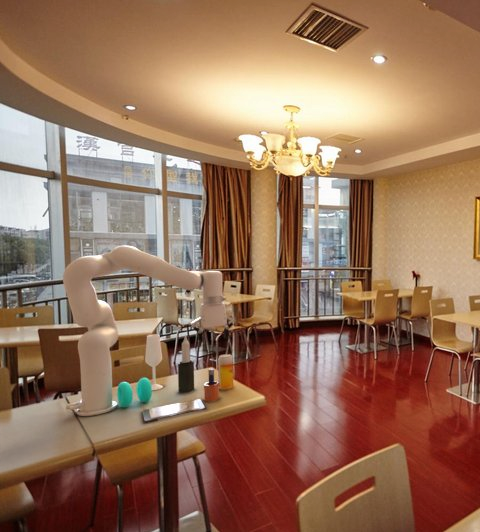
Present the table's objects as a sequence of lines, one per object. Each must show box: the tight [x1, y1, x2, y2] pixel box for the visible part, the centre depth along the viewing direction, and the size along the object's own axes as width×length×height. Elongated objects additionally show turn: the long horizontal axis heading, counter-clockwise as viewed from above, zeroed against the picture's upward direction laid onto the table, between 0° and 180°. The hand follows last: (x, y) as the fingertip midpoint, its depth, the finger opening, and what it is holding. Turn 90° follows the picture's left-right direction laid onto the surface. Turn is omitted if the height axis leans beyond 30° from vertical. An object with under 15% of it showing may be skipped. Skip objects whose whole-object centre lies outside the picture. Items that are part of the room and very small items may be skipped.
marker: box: [207, 368, 215, 385], centre depth 162 cm, size 2×2×12 cm
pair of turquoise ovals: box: [116, 377, 153, 409], centre depth 157 cm, size 10×10×10 cm
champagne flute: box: [144, 333, 164, 391], centre depth 176 cm, size 7×7×24 cm
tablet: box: [142, 398, 206, 424], centre depth 151 cm, size 20×12×1 cm, turn 127°
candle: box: [177, 335, 195, 394], centre depth 171 cm, size 5×5×25 cm
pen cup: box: [203, 380, 220, 402], centre depth 162 cm, size 5×5×7 cm
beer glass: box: [217, 353, 234, 391], centre depth 176 cm, size 6×6×15 cm
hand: (213, 340), depth 165 cm, fingers open, 9 cm apart
